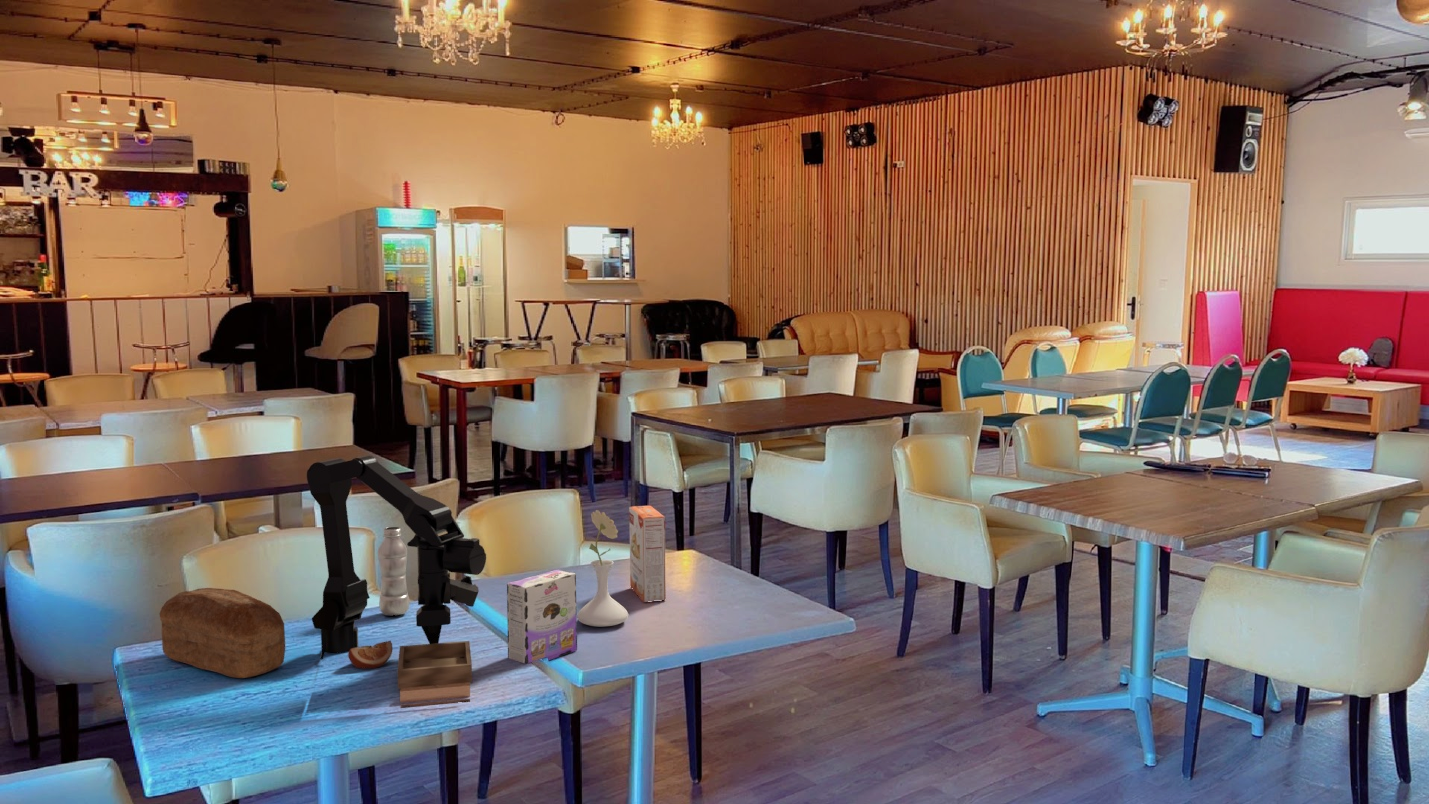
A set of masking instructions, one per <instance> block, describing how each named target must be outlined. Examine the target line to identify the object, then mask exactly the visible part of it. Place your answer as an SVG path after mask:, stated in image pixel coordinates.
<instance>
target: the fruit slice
mask: <svg viewBox="0 0 1429 804" xmlns="http://www.w3.org/2000/svg"><path fill="white" fill-rule="evenodd" d="M392 654H393V643H392V641H391V640H388V641H387V640H386V641H382V642H378V643H376V644H374V645H363V646H358V647H356V648H352V649H350V650H349V651H348V653H347V655H348V659H349V661H350V663H351V664H352V665H353V666H354V667H355V668H358V669H364V670H365V669H367V670H368V669H376V668H380V667H382V666H384V665H385V664H386V663H387V662H388V661H389V659H390V658H391V657H392Z"/></svg>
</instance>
